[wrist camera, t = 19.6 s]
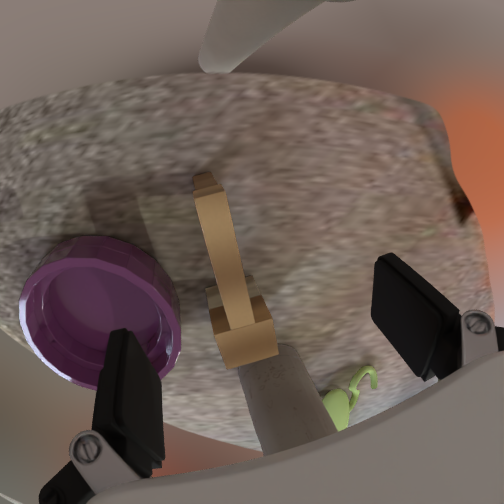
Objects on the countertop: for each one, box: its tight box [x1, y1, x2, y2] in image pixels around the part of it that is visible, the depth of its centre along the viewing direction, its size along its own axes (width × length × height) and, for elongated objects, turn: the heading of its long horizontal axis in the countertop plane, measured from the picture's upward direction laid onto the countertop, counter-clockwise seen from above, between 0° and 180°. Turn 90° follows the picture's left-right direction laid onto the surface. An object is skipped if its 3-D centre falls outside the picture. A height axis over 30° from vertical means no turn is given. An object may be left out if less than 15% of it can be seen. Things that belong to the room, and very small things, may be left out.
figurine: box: [320, 366, 377, 432], centre depth 42 cm, size 18×27×6 cm
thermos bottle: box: [239, 344, 338, 456], centre depth 24 cm, size 8×8×28 cm
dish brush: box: [192, 172, 279, 369], centre depth 25 cm, size 15×5×7 cm, turn 10°
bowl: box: [19, 236, 181, 391], centre depth 25 cm, size 16×16×5 cm
